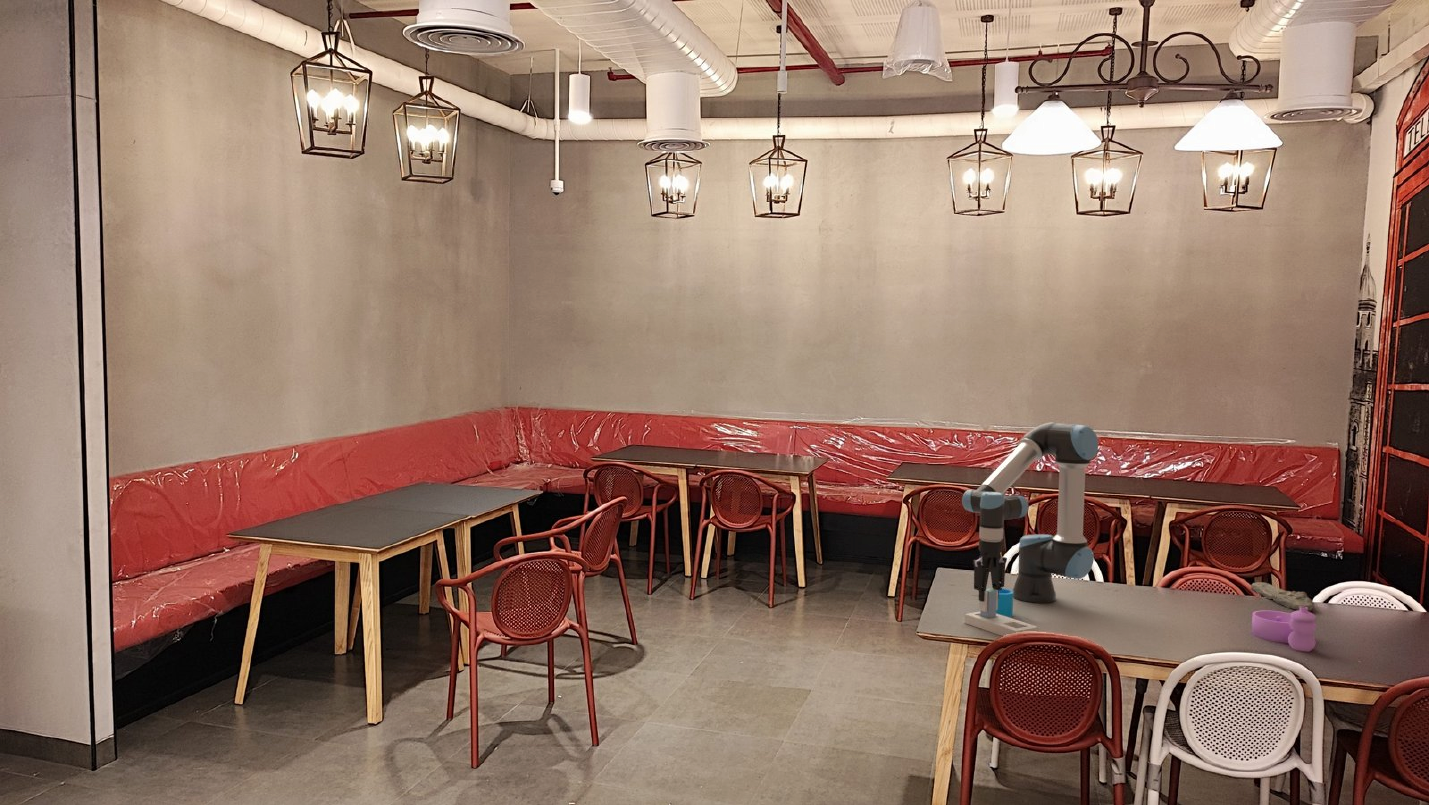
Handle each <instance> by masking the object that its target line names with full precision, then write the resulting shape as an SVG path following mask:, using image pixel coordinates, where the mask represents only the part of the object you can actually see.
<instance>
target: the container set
mask: <svg viewBox="0 0 1429 805" xmlns="http://www.w3.org/2000/svg"><path fill="white" fill-rule="evenodd" d="M1307 610H1308V608H1307V607H1300V609H1299V610H1295V611H1294V610H1293V611H1292V612H1285V611H1279V610H1267V609H1265V610H1257V611H1253V612H1252V619H1251V621H1252V622H1251V634H1252V635H1253V636H1255V637H1256V638H1259V639H1262V640H1265V641H1270V642H1276V643H1284V644H1288V645H1289V646H1290V647H1291V648H1292V649H1293V650H1294V651H1297V652H1298V651H1299V652H1311V651H1312V650H1313V649H1314V648H1315V646H1316V643H1317V641H1316V639H1315V636H1314V635H1313V633H1314V632H1315V631H1316V630H1317V624H1316V623H1315V621H1316V620H1317V617H1316V616H1315V614H1314V613H1312V612H1311V611H1307Z"/></svg>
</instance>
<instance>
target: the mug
mask: <svg viewBox="0 0 1429 805" xmlns="http://www.w3.org/2000/svg"><path fill="white" fill-rule="evenodd" d="M1013 606H1014V597H1013V590H1011V589H1006V588H1002V590H999V598H998V608H997V610H996V613H997V614H1000V615H1003V616H1006V617H1009V618H1012V617H1013V609H1014V608H1013Z"/></svg>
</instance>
